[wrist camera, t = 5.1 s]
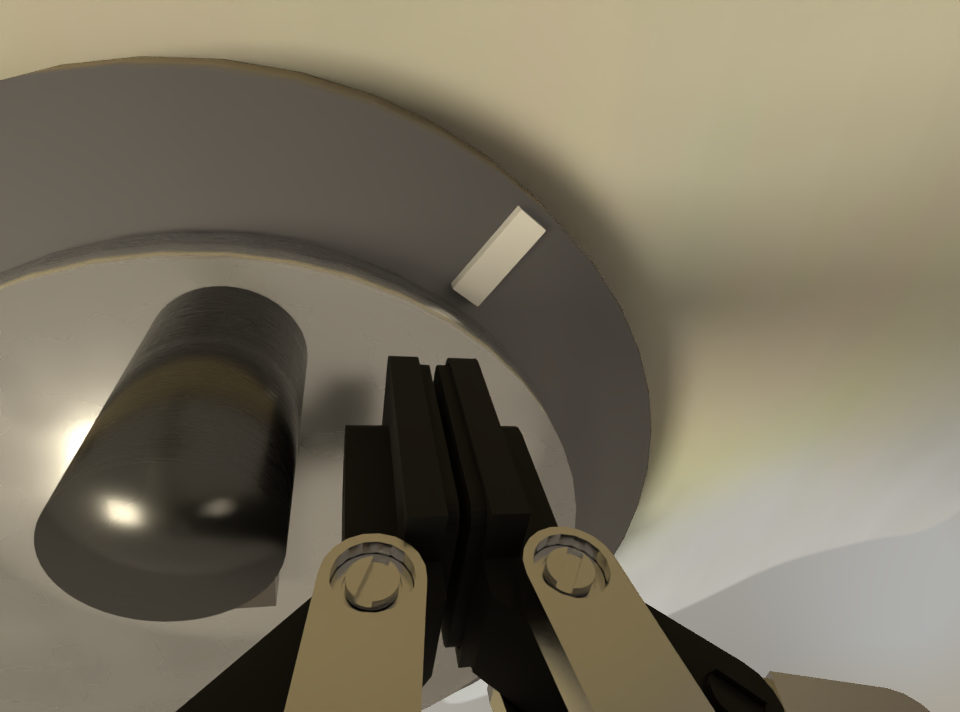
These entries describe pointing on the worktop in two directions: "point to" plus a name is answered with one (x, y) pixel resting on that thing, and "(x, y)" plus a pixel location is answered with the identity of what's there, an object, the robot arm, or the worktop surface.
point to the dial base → (333, 221)
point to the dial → (198, 452)
